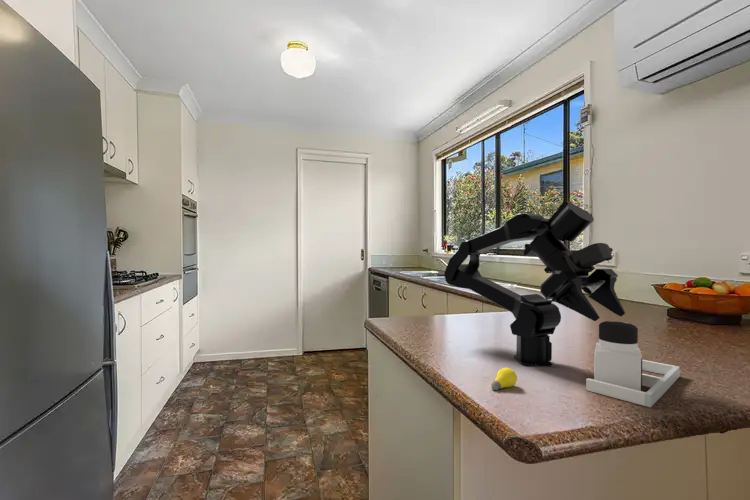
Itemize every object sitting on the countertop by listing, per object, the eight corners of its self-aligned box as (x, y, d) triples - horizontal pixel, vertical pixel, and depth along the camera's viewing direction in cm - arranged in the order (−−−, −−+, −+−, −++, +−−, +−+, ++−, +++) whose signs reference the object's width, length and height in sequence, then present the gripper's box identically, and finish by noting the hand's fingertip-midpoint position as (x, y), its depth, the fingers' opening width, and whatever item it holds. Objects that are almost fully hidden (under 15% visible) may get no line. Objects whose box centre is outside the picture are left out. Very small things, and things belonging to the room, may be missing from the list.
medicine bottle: (642, 397, 64) (642, 328, 64) (594, 389, 68) (594, 323, 68) (639, 385, 70) (640, 321, 70) (595, 377, 74) (596, 317, 74)
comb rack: (650, 407, 60) (650, 395, 60) (586, 390, 67) (586, 379, 67) (679, 376, 75) (679, 366, 75) (624, 365, 82) (624, 356, 82)
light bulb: (519, 385, 70) (521, 370, 68) (499, 401, 66) (501, 386, 65) (503, 375, 72) (505, 360, 71) (484, 390, 69) (485, 375, 67)
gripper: (555, 227, 69) (618, 293, 60) (608, 230, 79) (669, 287, 70) (519, 267, 76) (570, 332, 67) (571, 265, 86) (623, 322, 77)
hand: (610, 317), depth 70 cm, fingers open, 9 cm apart
